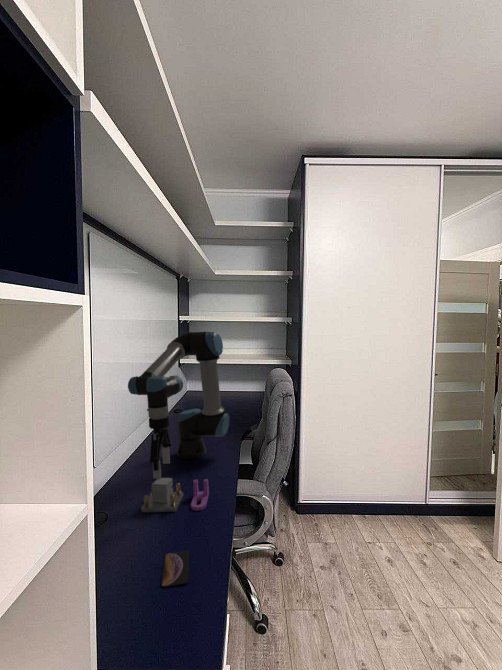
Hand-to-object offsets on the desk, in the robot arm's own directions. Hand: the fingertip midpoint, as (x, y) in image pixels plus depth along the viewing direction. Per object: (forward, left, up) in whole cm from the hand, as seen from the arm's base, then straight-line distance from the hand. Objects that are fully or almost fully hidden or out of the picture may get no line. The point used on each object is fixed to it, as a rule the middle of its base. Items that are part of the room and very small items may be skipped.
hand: (162, 470), depth 151 cm
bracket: (0, +14, -13) cm, 19 cm away
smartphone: (+39, +14, -14) cm, 44 cm away
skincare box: (0, 0, -12) cm, 12 cm away
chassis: (0, 0, -13) cm, 13 cm away
